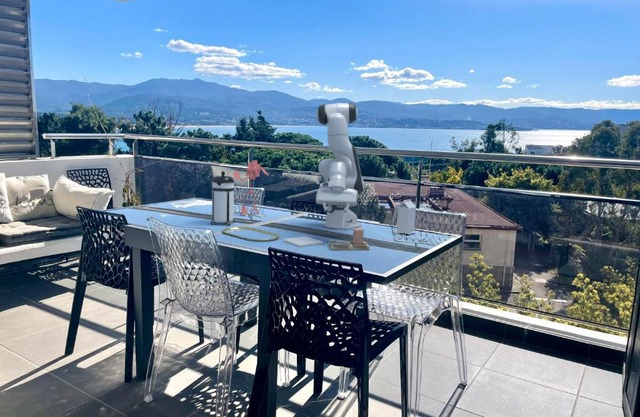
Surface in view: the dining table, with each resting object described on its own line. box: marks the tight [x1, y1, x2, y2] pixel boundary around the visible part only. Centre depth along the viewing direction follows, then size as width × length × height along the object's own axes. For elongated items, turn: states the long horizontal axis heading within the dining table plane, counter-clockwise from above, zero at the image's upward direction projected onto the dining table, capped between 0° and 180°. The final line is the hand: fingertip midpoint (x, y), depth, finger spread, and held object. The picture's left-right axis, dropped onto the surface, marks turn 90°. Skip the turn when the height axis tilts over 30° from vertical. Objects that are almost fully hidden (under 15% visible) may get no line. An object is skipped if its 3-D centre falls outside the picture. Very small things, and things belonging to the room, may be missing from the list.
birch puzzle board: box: [327, 240, 370, 251], centre depth 235 cm, size 9×18×3 cm, turn 99°
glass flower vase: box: [233, 160, 269, 218], centre depth 310 cm, size 15×26×35 cm, turn 140°
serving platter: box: [222, 226, 280, 242], centre depth 255 cm, size 19×35×2 cm, turn 48°
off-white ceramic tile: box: [282, 236, 324, 248], centre depth 242 cm, size 14×14×1 cm
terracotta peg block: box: [352, 228, 365, 245], centre depth 235 cm, size 4×4×9 cm
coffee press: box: [210, 171, 236, 226], centre depth 281 cm, size 17×16×30 cm
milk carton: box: [396, 198, 417, 234], centre depth 272 cm, size 7×7×19 cm
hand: (335, 211), depth 239 cm, fingers open, 8 cm apart
